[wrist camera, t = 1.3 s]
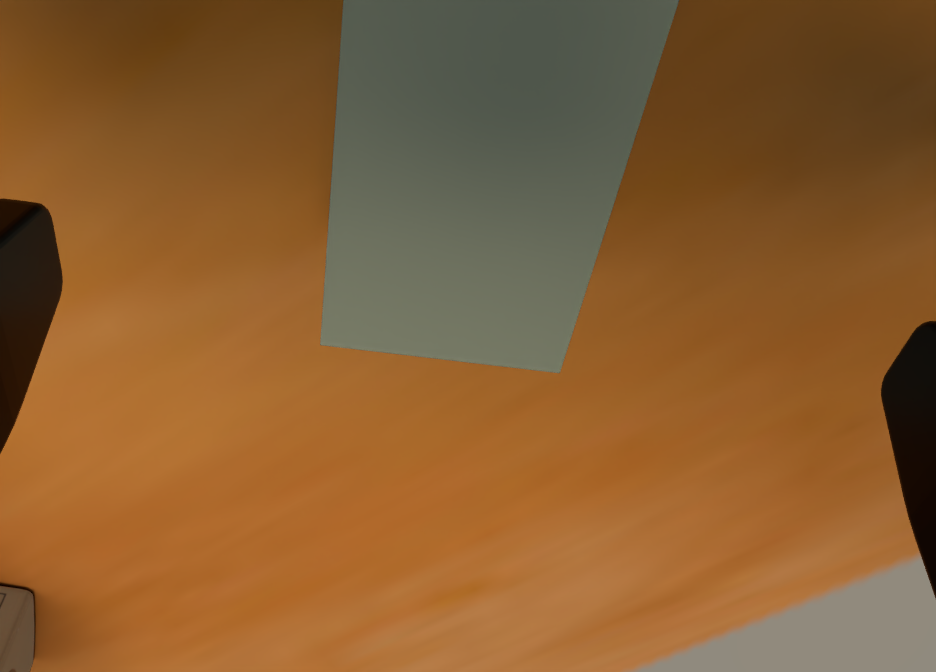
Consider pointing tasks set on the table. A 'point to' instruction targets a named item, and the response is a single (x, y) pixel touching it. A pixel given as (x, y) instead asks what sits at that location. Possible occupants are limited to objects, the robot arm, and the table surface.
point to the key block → (479, 170)
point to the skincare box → (16, 630)
